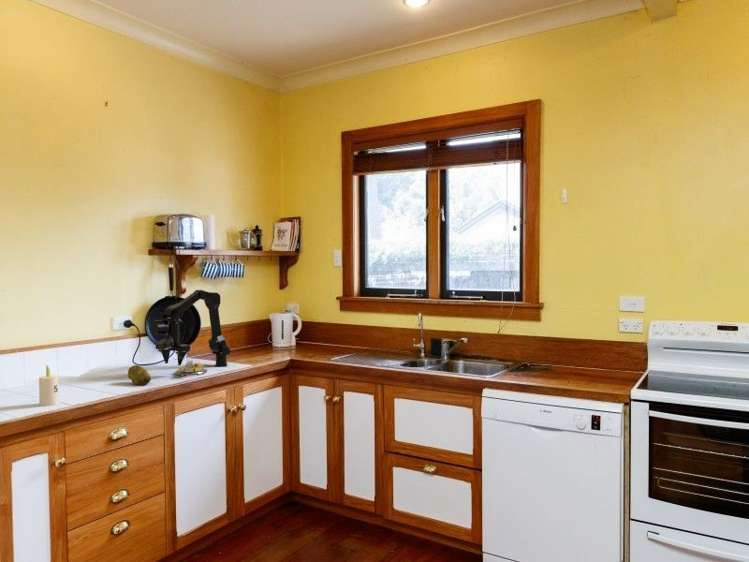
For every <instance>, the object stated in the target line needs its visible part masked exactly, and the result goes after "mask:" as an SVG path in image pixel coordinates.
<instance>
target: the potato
mask: <svg viewBox="0 0 749 562" xmlns="http://www.w3.org/2000/svg"><path fill="white" fill-rule="evenodd" d="M127 376H128V377H127V378H128V379H129V380H131V382H132V383H133V384H134V385H136V386H145V385H147V384H149V383H150V382H151V380H152V377H151V375H150V374H149V372H148V370H146V368H144V367H143V366H142V365H138V364H135V365H134V364H133V365H132V366H131V367H129V368H128V371H127Z"/></svg>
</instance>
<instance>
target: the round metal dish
mask: <svg viewBox="0 0 749 562" xmlns="http://www.w3.org/2000/svg"><path fill="white" fill-rule="evenodd" d="M193 368H195V367H193ZM206 372H207V373H208V369H207V368H204V367H203V370H201V371H197V372H181V371H179V369H177V370H175V373H174V374H175V375H176V376H178V375H183V376H182V377H188V376H187V375H197V376H200V375H199V374H203V375H205V374H204V373H206ZM207 373H206V374H207Z"/></svg>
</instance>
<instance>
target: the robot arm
mask: <svg viewBox="0 0 749 562" xmlns="http://www.w3.org/2000/svg"><path fill="white" fill-rule="evenodd" d="M199 300H201V301H204V306H206V308H207V310H208V313H209V324H210V330H211V338H210V339H208V348H209V349H210V350H211V353H212V355H215V364H214V366H213V367H227V366H228V365H229V363H228V361H227V360H228V358H227V356H228V355H230V354H231V349H230V348H229V347H228V345H227V342H226V339H225V337H224V335H222V327H221V320H220V311H219V308H220V305H221V295H220V294H219V292H213V291H212V292H211V291H206V290H203V289H196V290H194V291H193V292H192V293H191V294H189V295H187V296H186V297H185V298H183V299H182V300H181V301H179V302H178V303H174V304H171V305H170V306H167V307H165V309H164V312H163V314H162V316H161V317H160V318H159V319H158V320H157V319H156V320H153V323H152V324H151V327H150V331H151V333H152V335H154V336H156V335H164V336H163V338H162V339H160V340H159V341H157V342H155V350H157V352H160V354H161V355H162V358H163V361H164V363H165V364H166V365H167V364H168V363H169V360H170V355H171V351H172V350H175V352H174V353H175V354H176V355H177V365H178V366H182V363H183V361H184V359H185V357H186V355H187V353H189V351H191V346H190V344H185V343H184V344H182V343H181V342H180V337H182V335H181V334H180V324H182V323H183V320H181V317H182V316H183V315H184V313H185V311H186V310H187V309H189V308H190V307H191V306H192V305H194V304H195V303H197V302H198V301H199ZM171 349H172V350H171ZM227 364H228V365H227ZM226 365H227V366H226Z"/></svg>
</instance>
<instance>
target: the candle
mask: <svg viewBox="0 0 749 562" xmlns="http://www.w3.org/2000/svg"><path fill="white" fill-rule="evenodd" d="M45 372H46V373H45V374H46V375H42V376H39V378H38V389H39V391H38V395H39V396H38V397H39V399H38V400H39V407H40V406H41V407H49V406H56V405H58V404H59V376H58V375H56V374H55V375H53V374H52V375H51V372H50V367H49V366H48V365H45Z"/></svg>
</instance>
